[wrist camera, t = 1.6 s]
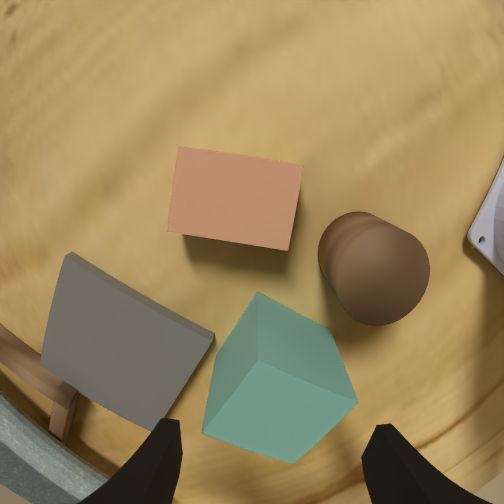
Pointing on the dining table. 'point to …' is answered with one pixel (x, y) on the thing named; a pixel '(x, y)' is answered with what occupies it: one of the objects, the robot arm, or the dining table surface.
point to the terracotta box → (234, 197)
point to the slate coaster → (119, 344)
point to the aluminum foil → (41, 461)
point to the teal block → (277, 383)
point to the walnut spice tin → (373, 267)
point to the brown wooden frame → (40, 382)
